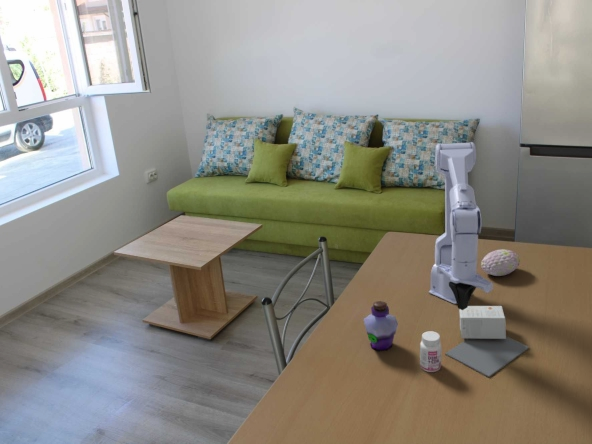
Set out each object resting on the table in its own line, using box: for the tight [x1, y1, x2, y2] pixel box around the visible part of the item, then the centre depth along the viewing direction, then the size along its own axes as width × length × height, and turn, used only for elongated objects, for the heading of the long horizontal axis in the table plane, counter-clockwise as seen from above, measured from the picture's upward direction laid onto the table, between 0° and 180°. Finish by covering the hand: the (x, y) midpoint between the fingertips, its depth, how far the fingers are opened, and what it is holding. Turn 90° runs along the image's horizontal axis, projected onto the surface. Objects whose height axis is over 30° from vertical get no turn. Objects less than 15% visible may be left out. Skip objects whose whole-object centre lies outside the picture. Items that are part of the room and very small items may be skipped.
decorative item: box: [480, 248, 521, 277], centre depth 166 cm, size 9×11×10 cm
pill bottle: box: [419, 330, 442, 373], centre depth 127 cm, size 5×5×8 cm
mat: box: [444, 336, 530, 378], centre depth 132 cm, size 12×16×1 cm
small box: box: [458, 305, 507, 339], centre depth 137 cm, size 8×6×10 cm
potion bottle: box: [363, 300, 399, 352], centre depth 136 cm, size 9×9×12 cm
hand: (462, 307), depth 134 cm, fingers closed
